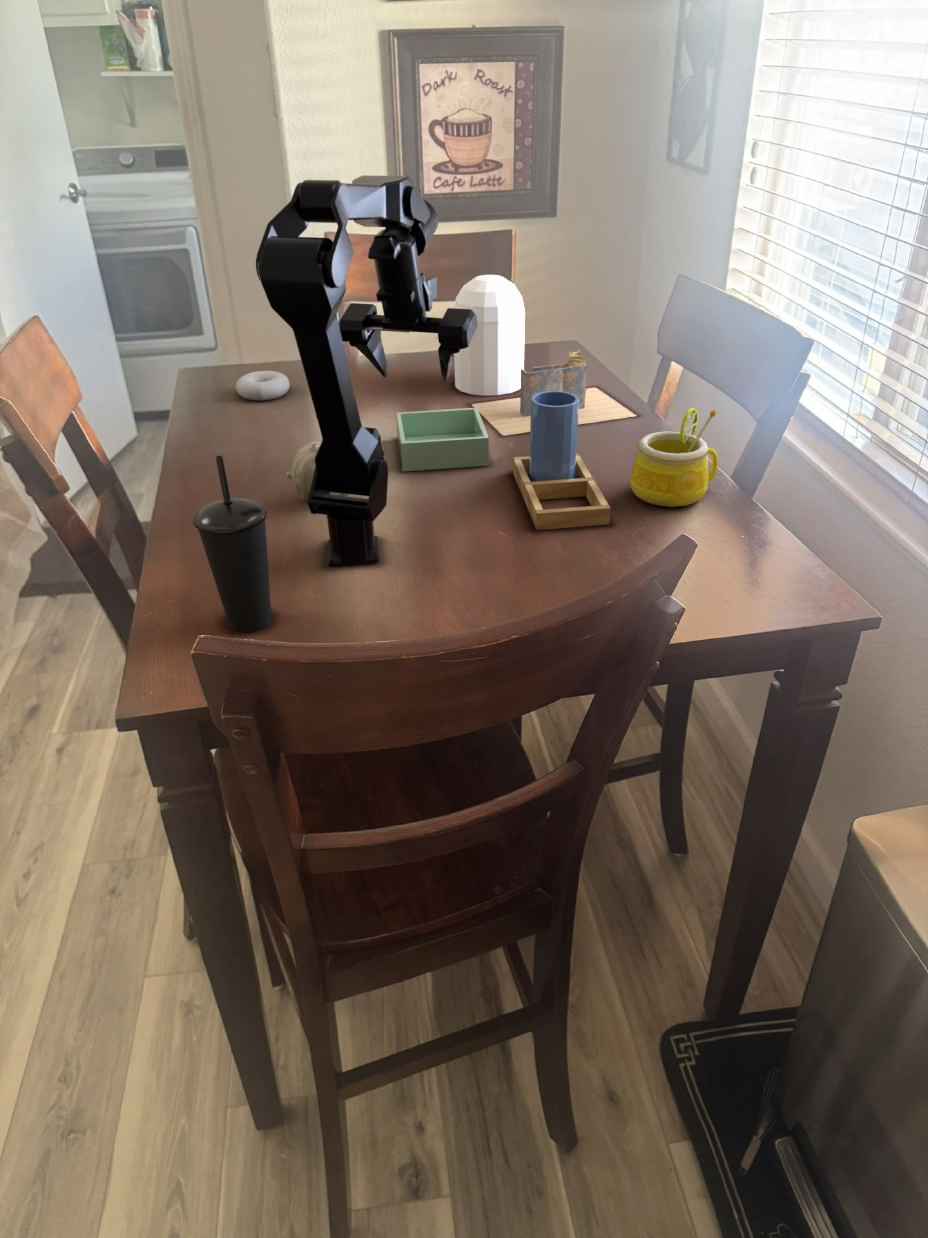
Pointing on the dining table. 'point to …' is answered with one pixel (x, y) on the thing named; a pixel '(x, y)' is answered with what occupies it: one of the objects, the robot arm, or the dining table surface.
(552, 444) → the tumbler
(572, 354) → the architectural model on board
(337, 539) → the robot arm
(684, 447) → the mug
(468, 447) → the basin
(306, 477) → the garlic bulb
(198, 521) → the drinking cup
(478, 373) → the container
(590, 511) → the wooden rectangular frame
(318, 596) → the dining table surface
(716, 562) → the dining table surface
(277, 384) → the donut
